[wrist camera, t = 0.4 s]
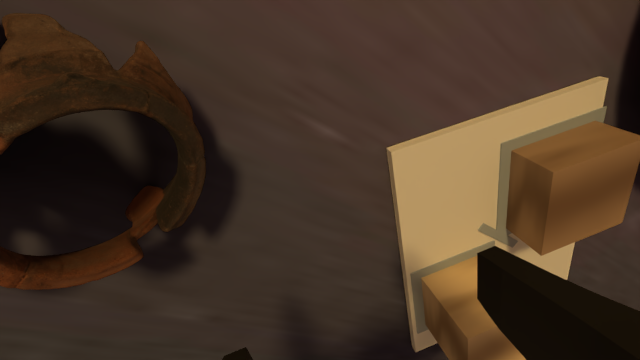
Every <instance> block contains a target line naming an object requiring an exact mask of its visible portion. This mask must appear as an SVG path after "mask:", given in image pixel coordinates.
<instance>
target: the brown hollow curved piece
mask: <svg viewBox="0 0 640 360" xmlns="http://www.w3.org/2000/svg"><path fill="white" fill-rule="evenodd" d="M2 24H3V28H4V30H5V36H6V38H7V41H6V42H5V44H4V45H3V46H2V48H1V50H0V155H1V154H2V153H3V152H4V151H5V150H6V149H7V148H8V147H9V146H10V145H11V143H12V142H13V141H14V139H15V138H16V137H18V136H20V135H22V134H24V133H27V132H29V131H31V130H32V129H34V128H36V127H37V126H40V125H42V124H44V123H46V122H48V121H51V120H53V119H56V118H59V117H62V116H65V115H69V114H74V113H80V112H86V111H94V110H123V111H133V112H138V113H140V114H142V115H145V116H147V117H149V118H152V119H154V120H155V121H157V122H158V123H159V124H161V125H163V126H164V127H165V128H166V129H167V130H168V131H169V133H170V134H171V136H172V137H173V139H174V141H175V143H176V146H177V150H178V168H177V173H176V175H175V176H174V177H173V179H172V181H171V182H170V183H169V184H168V185H167V186H166V188H165V189H162V188H159V187H153V186H146V187H144V188H143V189H142V190H141V191H140V192H139V193H138V194H137V195H136V196H135V198H134V199H133V200H132V202H131V203H130V204H129V206H128V207H127V209H126V212H125V214H126V216H127V219H129V220H130V221H132V222H133V227H132V228H130V229H128V230H127V231H125V232H124V233H122V234H120V235H118V236H117V237H115V238H113V239H110V240H108V241H106V242H104V243H101V244H98V245H95V246H93V247H89V248H86V249H83V250H80V251H75V252H71V253H65V254H59V255H50V256H31V255H23V254H18V253H15V252H12V251H9V250H7V249H4V248H3V247H1V246H0V286H3V287H6V288H18V289H34V290H42V289H54V288H66V287H71V286H77V285H82V284H85V283H87V282H90V281H95V280H99V279H101V278H104V277H107V276H110V275H112V274H115V273H117V272H119V271H121V270H123V269H125V268H128V267H130V266H131V265H133V264H135V263H136V262H138V261H139V260H140V259H142V258H143V256H144V255H143V252H142V249H141V247H140V246H139V245H138V243H137V240H138V239H139V238H140V237H142V236H143V235H145V234H146V233H147V232H149V231H150V230H151V229H152V228H153V227H154V226H155V225H156V224H157V223H158V224H159V226H160V229H161V230H162V231H164V232H169V231H171V230H173V229H175V228H178V227H180V226H181V225H182V224H183V223H184V222H185V221H186V220H187V218H188V216H189V215H190V214H191V212H192V210H193V209H194V207H195V205H196V202H197V200H198V198H199V196H200V194H201V191H202V188H203V185H204V181H205V177H206V159H205V157H204V153H205V149H204V146H203V139H202V137H201V135H200V134H199V132H198V129H197V128H196V125H195V123H194V122H193V114H192V108H191V106H190V104H189V102H188V100H187V98H186V97H185V95H184V94H183V93H182V92H181V90H180V88H179V87H178V86H177V85H176V84H175V83H174V81H173V80H172V78H171V77H170V75H169V74H168V73H167V71H166V70H165V68H164V67H163V66H162V64H161V63H160V61H159V59H158V58H157V56H156V55H155V54H154V53H153V52H152V51H151V49H150V48H149V47H148V46H147V45H146V44H145V42H143V41H139V42H137V44H136V47H135V53H134V55H133V56H131V57H130V58H129V59H128V61H127V62H126V63H125V64H124V65H123V66H122V68H120V69H119V70H118V71H116V70H114V69H113V67H112V66H111V64H110V63H109V61H108V60H107V58H106V56H105V55H104V53H103V52H102V51H100V50H99V49H97V48H96V47H95V46H94V45H93V44H92V43H91V42H90V41H88V40H86V39H85V38H83V37H81V36H79V35H76V34H73V33H71V32H69V31H67V30H65V29H64V28H63V27H62V26H61V25H60V24H59V23H58V22H57V21H56V20H54V19H53V18H51V17H50V16H47V15H43V14H22V13H14V14H9V15H6V16H4V17H3V19H2Z"/></svg>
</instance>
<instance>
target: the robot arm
mask: <svg viewBox="0 0 640 360" xmlns="http://www.w3.org/2000/svg"><path fill="white" fill-rule="evenodd" d="M477 299H478V301H479V302H480V303H481V305H482V306H483V308H484V309H485V311H486V312H487V313H488V315H489V316H490V318H491V319H492V320H493V322H494V323H495V324H496V326H497V327H498V328H499V330H500V331H501V332H502V333H503V334H504V335H505V336H506V338H507V339H508V340H509V341H510V342H511V343H512V344H513V345H514V346H515V348H516V349H517V350H518V351H519V352H520V353H521V354H522V355H523V356H524V357H525V359H526V360H640V311H638V310H635V309H633V308H630V307H628V306H625V305H623V304H620V303H618V302H615V301H613V300H611V299H608V298H606V297H603V296H601V295H599V294H596V293H594V292H592V291H589V290H587V289H585V288H583V287H580V286H578V285H576V284H574V283H572V282H570V281H567V280H565V279H563V278H561V277H559V276H557V275H555V274H552V273H550V272H548V271H546V270H544V269H542V268H540V267H538V266H536V265H534V264H532V263H530V262H528V261H526V260H523V259H521V258H519V257H517V256H515V255H513V254H511V253H509V252H507V251H505V250H503V249H501V248H499V247H497V246H493V247H491V248H488V249H486V250H483V251H481V252H479V253H477ZM222 360H253V359H252V357H251V355H250V354H249V352H248V350H247V348H246V347H245V348H243V349H240V350H238V351H235V352H233V353H231V354H228V355H226V356H224V358H223V359H222Z"/></svg>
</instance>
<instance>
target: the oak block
mask: <svg viewBox="0 0 640 360" xmlns="http://www.w3.org/2000/svg"><path fill="white" fill-rule="evenodd" d="M421 281H422V292H423V303H424V314H425V325H426V326H427V328H428V329H429V331H430V332H431V334H432V335H433V337H434V338H435V340H436V341H437V343H438V344H439V346H440V347H441V348H442V350H443V351H444V353H445V354H446V356H447V357H448V359H449V360H526V359H525V357H524V356H523V355H522V354H521V353H520V352H519V351H518V350H517V349H516V348H515V346H514V345H513V344H512V343H511V342H510V341H509V340H508V339H507V338H506V336H505V335H504V334H503V333H502V332H501V331H500V330H499V328H498V327H497V326H496V324H495V323H494V322H493V320H492V319H491V318H490V316H489V315H488V313H487V312H486V311H485V309H484V308H483V306H482V305H481V303H480V302H479V301H478V299H477V256H475V257H472V258H470V259H467V260H465V261H462V262H460V263H457V264H455V265H452V266H450V267H447V268H445V269H442V270H440V271H437V272H435V273H432V274H430V275H427V276H425V277H422V278H421Z"/></svg>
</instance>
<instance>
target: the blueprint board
mask: <svg viewBox="0 0 640 360" xmlns="http://www.w3.org/2000/svg"><path fill="white" fill-rule="evenodd" d="M608 79H609V78H605V77H600V76H598V77H595V78H592V79H589V80H586V81H583V82H580V83H577V84H574V85H571V86H568V87H566V88H563V89H560V90H557V91H554V92H551V93H548V94H545V95H542V96H539V97H536V98H533V99H530V100H527V101H524V102H521V103H518V104H515V105H512V106H509V107H506V108H503V109H500V110H497V111H494V112H491V113H488V114H485V115H482V116H480V117H477V118H474V119H471V120H468V121H465V122H462V123H459V124H456V125H453V126H450V127H447V128H444V129H441V130H438V131H435V132H432V133H429V134H426V135H423V136H420V137H417V138H414V139H411V140H408V141H405V142H402V143H399V144H396V145H394V146H391V147H388V148H386V150H387V158H388V166H389V173H390V181H391V189H392V196H393V204H394V212H395V220H396V227H397V235H398V243H399V251H400V258H401V266H402V274H403V282H404V289H405V297H406V305H407V312H408V320H409V328H410V336H411V343H412V347H413V349H414V351H415V352H418V351H420V350H423V349H425V348H427V347H430V346H432V345H434V344H437V341H436V340H435V338H434V337H433V335H432V334H431V332H430V331H429V329H428V328H427V326H426V325H425V314H424V303H423V292H422V281H421V278H422V277H425V276H427V275H430V274H432V273H435V272H437V271H440V270H442V269H445V268H447V267H450V266H452V265H455V264H457V263H460V262H462V261H465V260H467V259H470V258H472V257H475V256H477V253H479V252H481V251H483V250H486V249H488V248H491V247H493V246H497V247H499V248H501V249H503V250H505V251H507V252H509V253H511V254H513V255H515V256H517V257H519V258H521V259H523V260H526V261H528V262H530V263H532V264H534V265H536V266H538V267H540V268H542V269H544V270H546V271H548V272H550V273H552V274H555V275H557V276H559V277H561V278H563V279H565V280H567V278H568V273H569V268H570V263H571V259H572V254H573V249H574V244H575V242H574V243H572V244H569V245H567V246H564V247H562V248H559V249H557V250H555V251H552V252H550V253H547V254H545V255H542V256H541V255H539V254H538V253H537V252H536V251H534V250H533V249H532V248H531V247H529V246H528V245H527V244H525V243H524V242H523V241H522V240H520V239H519V238H518V237H516V236H515V235H514V234H513V233H511V232H510V231H509V230H507V229H506V218H507V205H508V191H509V177H510V163H511V151H512V150H515V149H517V148H520V147H523V146H526V145H529V144H531V143H534V142H537V141H540V140H542V139H545V138H548V137H551V136H554V135H556V134H559V133H562V132H565V131H568V130H570V129H573V128H576V127H579V126H582V125H584V124H587V123H590V122H593V121H598V122H601V123H604V118H605V113H606V109H607V107H606V106H605V107H603V103H604V98H605V93H606V88H607V83H608Z"/></svg>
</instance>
